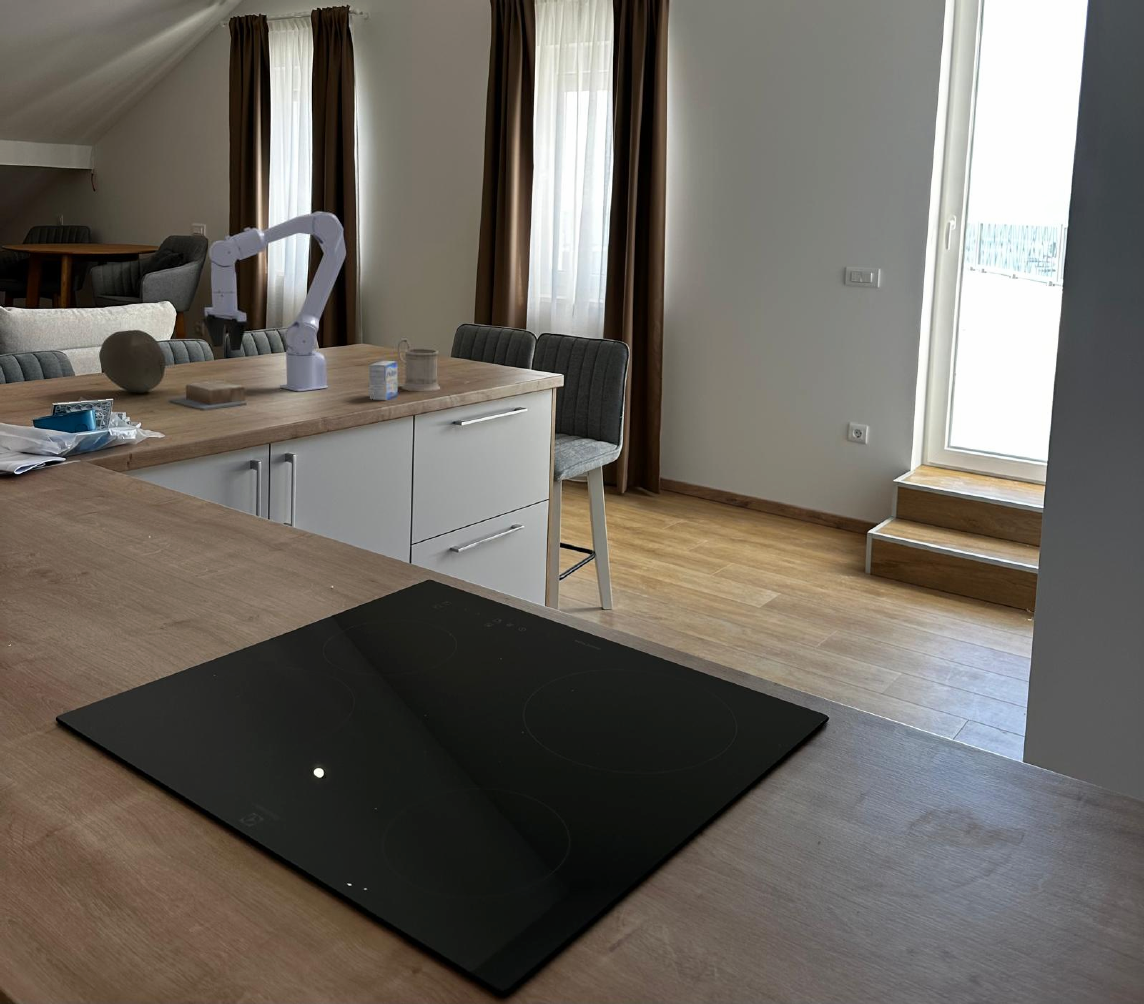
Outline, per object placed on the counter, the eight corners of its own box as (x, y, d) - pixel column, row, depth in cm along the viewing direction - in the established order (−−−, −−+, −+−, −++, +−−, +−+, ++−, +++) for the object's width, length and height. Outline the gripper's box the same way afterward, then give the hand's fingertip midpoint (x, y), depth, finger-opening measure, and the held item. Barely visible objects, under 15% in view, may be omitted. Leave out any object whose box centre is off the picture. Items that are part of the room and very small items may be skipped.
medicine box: (386, 401, 269) (386, 365, 267) (369, 399, 270) (368, 364, 268) (397, 395, 276) (397, 361, 274) (380, 394, 277) (380, 359, 275)
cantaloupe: (150, 386, 275) (147, 325, 271) (176, 394, 265) (173, 331, 261) (93, 391, 265) (88, 328, 261) (118, 400, 256) (113, 335, 252)
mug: (447, 389, 289) (448, 342, 286) (418, 392, 282) (418, 345, 279) (412, 381, 298) (413, 336, 295) (383, 384, 291) (383, 338, 288)
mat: (211, 395, 266) (211, 393, 265) (246, 404, 257) (246, 402, 257) (170, 401, 257) (170, 398, 257) (204, 410, 249) (204, 408, 249)
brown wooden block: (219, 380, 264) (185, 383, 257) (244, 385, 258) (210, 389, 251) (220, 394, 265) (186, 398, 258) (244, 400, 259) (210, 405, 252)
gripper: (192, 289, 268) (195, 346, 272) (227, 295, 260) (229, 353, 263) (218, 288, 274) (220, 343, 277) (252, 294, 265) (254, 350, 268)
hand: (226, 348), depth 271 cm, fingers open, 7 cm apart
